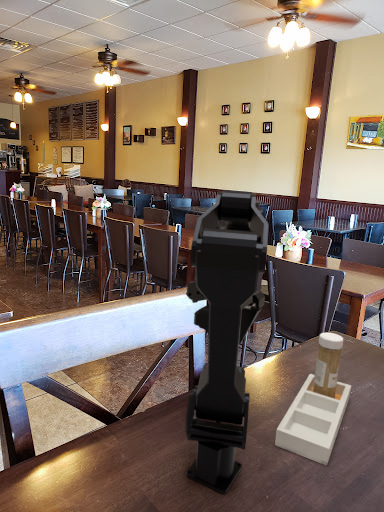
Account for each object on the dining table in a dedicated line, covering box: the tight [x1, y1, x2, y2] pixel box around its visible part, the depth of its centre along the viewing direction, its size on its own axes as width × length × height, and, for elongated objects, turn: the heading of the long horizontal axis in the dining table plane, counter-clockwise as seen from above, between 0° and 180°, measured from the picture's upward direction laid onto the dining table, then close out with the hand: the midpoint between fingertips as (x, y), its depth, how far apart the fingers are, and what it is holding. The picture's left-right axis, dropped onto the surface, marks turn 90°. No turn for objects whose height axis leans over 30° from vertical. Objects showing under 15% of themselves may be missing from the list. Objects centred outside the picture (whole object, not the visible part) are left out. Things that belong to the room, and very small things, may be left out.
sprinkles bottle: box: [313, 332, 344, 399], centre depth 79 cm, size 5×5×14 cm
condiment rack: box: [274, 373, 352, 466], centre depth 74 cm, size 24×8×3 cm, turn 150°
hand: (228, 350), depth 73 cm, fingers open, 9 cm apart
